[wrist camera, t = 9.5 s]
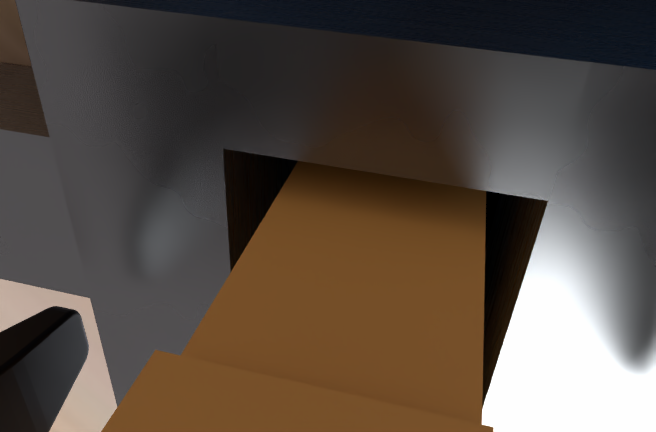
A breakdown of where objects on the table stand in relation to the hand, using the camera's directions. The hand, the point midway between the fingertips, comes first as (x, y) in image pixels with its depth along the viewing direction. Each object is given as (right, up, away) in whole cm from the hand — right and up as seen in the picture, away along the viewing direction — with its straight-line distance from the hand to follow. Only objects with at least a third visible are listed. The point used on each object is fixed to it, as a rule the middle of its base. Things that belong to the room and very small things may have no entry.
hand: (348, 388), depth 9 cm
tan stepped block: (+1, +3, +4) cm, 6 cm away
